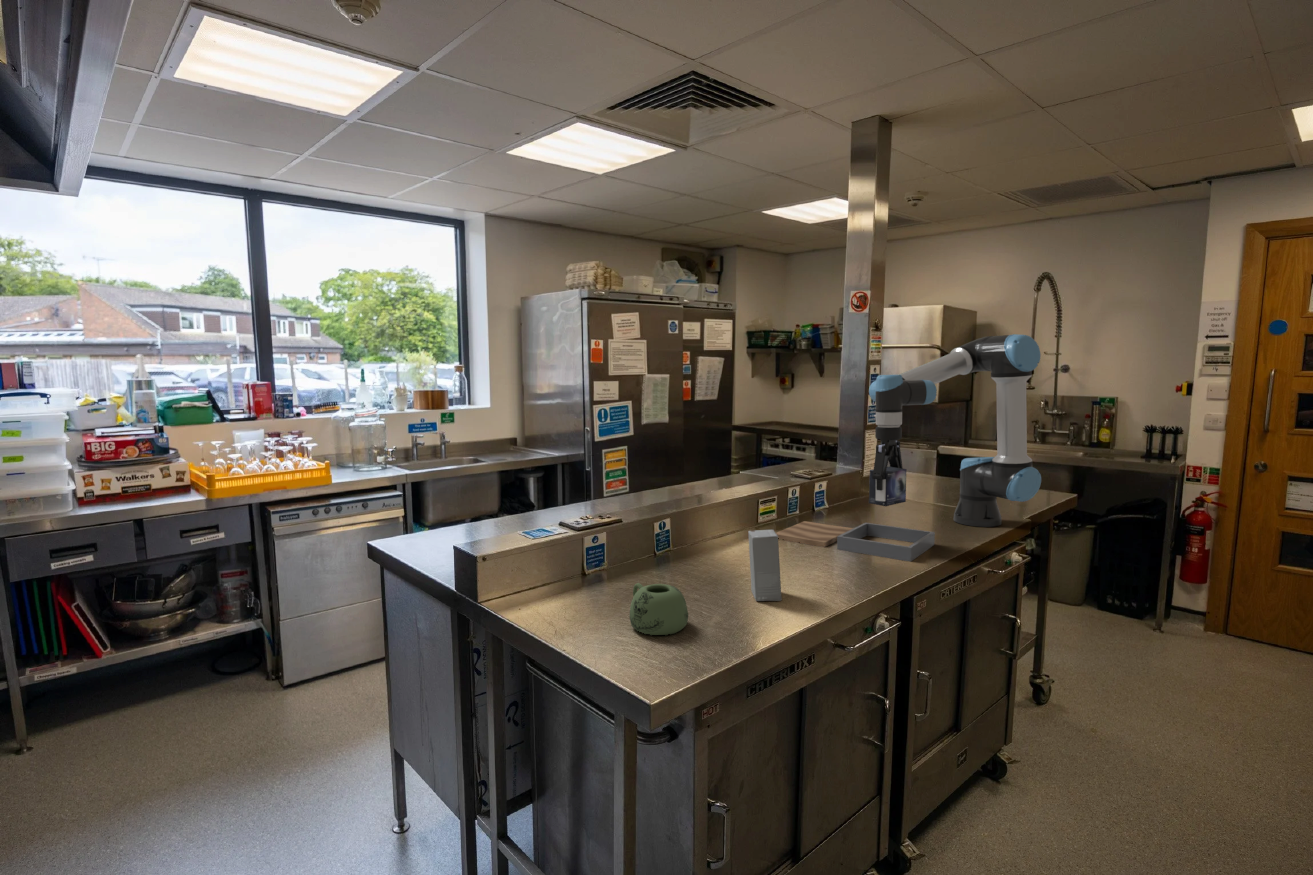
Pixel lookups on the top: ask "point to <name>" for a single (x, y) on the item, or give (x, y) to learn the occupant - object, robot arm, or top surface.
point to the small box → (890, 487)
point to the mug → (658, 609)
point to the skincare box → (764, 565)
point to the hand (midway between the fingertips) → (887, 497)
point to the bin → (856, 544)
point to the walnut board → (812, 533)
